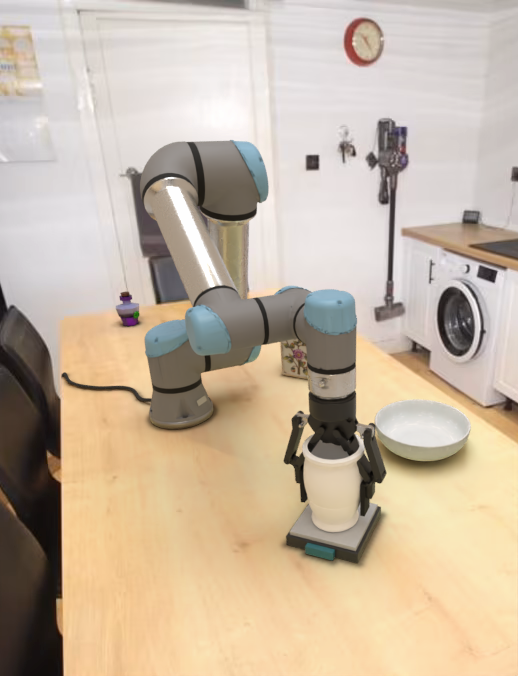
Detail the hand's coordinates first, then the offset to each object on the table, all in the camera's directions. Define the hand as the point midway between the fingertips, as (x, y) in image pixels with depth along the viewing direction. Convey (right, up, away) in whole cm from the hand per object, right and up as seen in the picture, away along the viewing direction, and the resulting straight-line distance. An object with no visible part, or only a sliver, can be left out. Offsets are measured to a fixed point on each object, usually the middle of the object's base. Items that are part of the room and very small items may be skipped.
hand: (334, 504), depth 94 cm
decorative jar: (-10, +25, +65) cm, 70 cm away
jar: (0, -3, +1) cm, 3 cm away
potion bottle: (-78, +43, +104) cm, 137 cm away
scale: (0, -5, +2) cm, 6 cm away
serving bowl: (+18, +7, +27) cm, 33 cm away
